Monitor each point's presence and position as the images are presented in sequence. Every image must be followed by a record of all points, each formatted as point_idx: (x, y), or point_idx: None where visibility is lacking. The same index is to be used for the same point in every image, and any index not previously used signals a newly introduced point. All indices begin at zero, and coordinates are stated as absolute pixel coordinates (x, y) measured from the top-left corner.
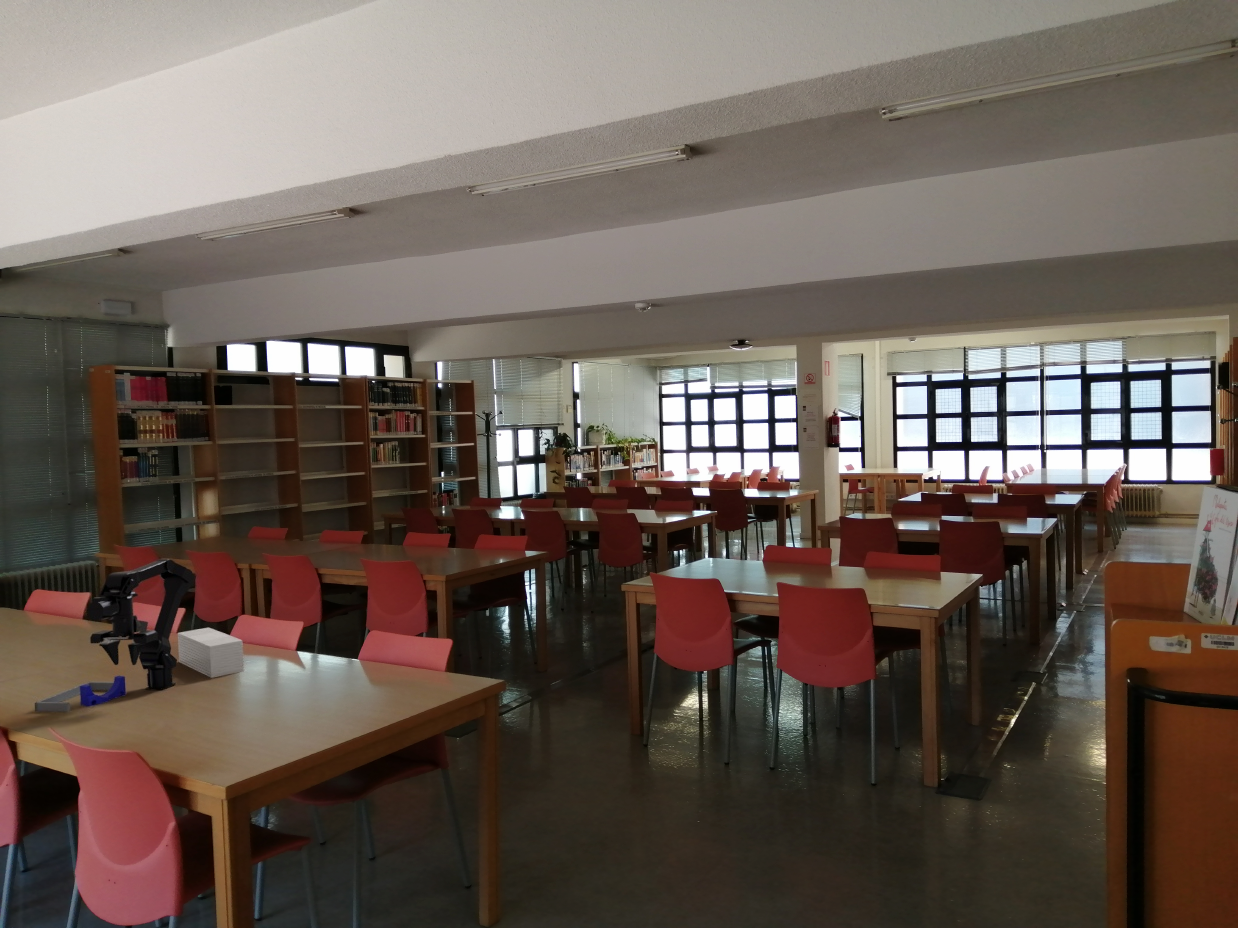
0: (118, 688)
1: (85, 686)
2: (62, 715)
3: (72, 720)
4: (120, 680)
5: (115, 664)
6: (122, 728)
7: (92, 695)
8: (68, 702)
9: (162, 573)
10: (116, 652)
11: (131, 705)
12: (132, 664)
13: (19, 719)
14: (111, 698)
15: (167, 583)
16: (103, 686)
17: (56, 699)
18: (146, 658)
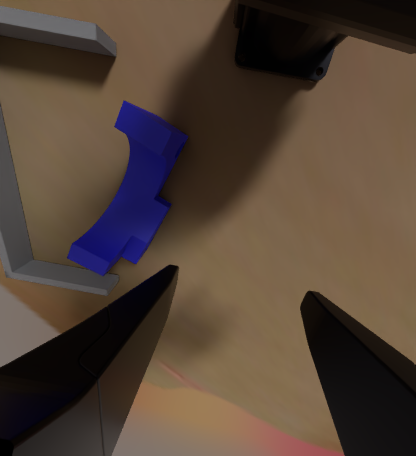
0: (169, 162)
1: (98, 270)
2: None
3: (178, 337)
4: (165, 153)
5: (174, 289)
6: (312, 391)
7: (132, 245)
8: (105, 290)
9: None
10: (138, 347)
11: (267, 260)
12: (301, 313)
13: (51, 312)
14: (164, 182)
15: None
16: (34, 35)
17: (10, 209)
18: (323, 13)
